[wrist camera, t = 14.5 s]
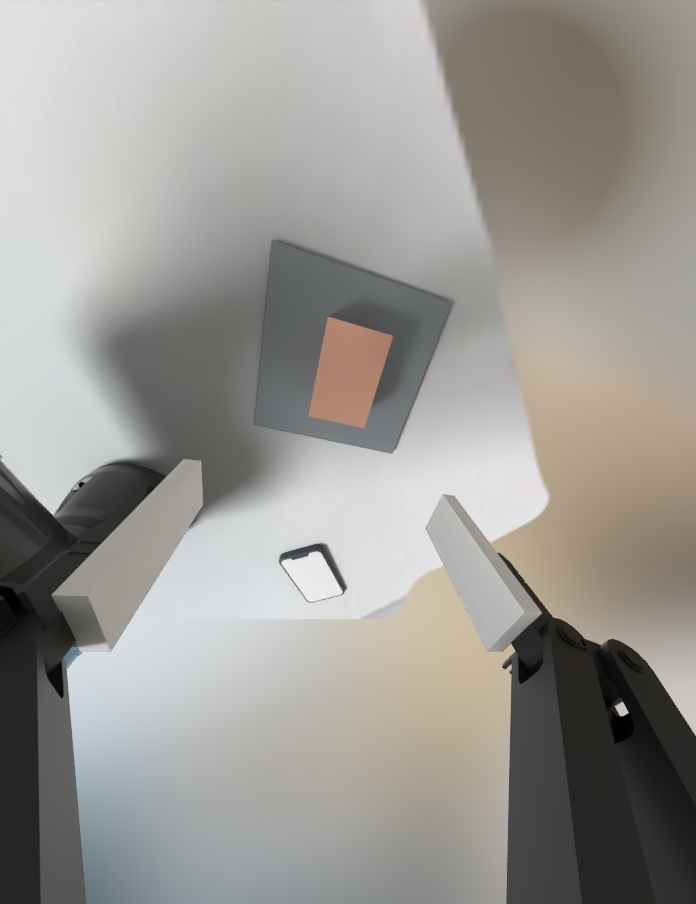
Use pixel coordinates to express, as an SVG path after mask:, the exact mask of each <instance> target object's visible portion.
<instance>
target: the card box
mask: <svg viewBox="0 0 696 904" xmlns="http://www.w3.org/2000/svg"><path fill="white" fill-rule="evenodd" d="M392 338H393V336H392V335H389V334H385V333H382V332H379V331H375V330H372V329H368V328H365V327H362V326H358V325H355V324H351V323H348V322H345V321H341V320H338V319H335V318H331V317H328V318H327V323H326V329H325V334H324V339H323V344H322V349H321V354H320V359H319V364H318V370H317V375H316V380H315V385H314V390H313V395H312V400H311V406H310V411H309V417H314V418H319V419H323V420H328V421H333V422H337V423H342V424H346V425H351V426H356V427H360V428H365V425H366V421H367V418H368V415H369V412H370V409H371V405H372V402H373V399H374V396H375V393H376V390H377V386H378V383H379V380H380V377H381V374H382V370H383V367H384V364H385V361H386V358H387V354H388V351H389V348H390V345H391V342H392Z"/></svg>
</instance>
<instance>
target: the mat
mask: <svg viewBox="0 0 696 904" xmlns="http://www.w3.org/2000/svg"><path fill="white" fill-rule="evenodd" d="M451 305H452V302H449V301H446V300H443V299H440V298H437V297H434V296H432V295H429V294H426V293H423V292H420V291H417V290H414V289H412V288H409V287H406V286H403V285H400V284H397V283H394V282H391V281H389V280H386V279H383V278H380V277H377V276H374V275H371V274H369V273H366V272H363V271H360V270H357V269H354V268H351V267H349V266H346V265H343V264H340V263H337V262H334V261H331V260H329V259H326V258H323V257H320V256H317V255H314V254H311V253H308V252H306V251H303V250H300V249H297V248H294V247H291V246H288V245H286V244H283V243H280V242H277V241H274V240H272V245H271V255H270V265H269V275H268V286H267V296H266V306H265V316H264V327H263V337H262V347H261V357H260V368H259V378H258V388H257V398H256V409H255V419H254V425H257V426H262V427H267V428H271V429H276V430H281V431H286V432H291V433H295V434H300V435H305V436H310V437H315V438H320V439H324V440H329V441H334V442H339V443H344V444H348V445H353V446H358V447H363V448H368V449H372V450H377V451H382V452H387V453H393V451H394V448H395V446H396V443H397V441H398V438H399V436H400V433H401V431H402V428H403V425H404V423H405V420H406V418H407V415H408V413H409V410H410V408H411V405H412V403H413V400H414V398H415V395H416V393H417V390H418V388H419V385H420V383H421V380H422V378H423V375H424V373H425V370H426V368H427V365H428V363H429V360H430V358H431V355H432V353H433V350H434V348H435V345H436V343H437V340H438V338H439V335H440V333H441V330H442V328H443V325H444V323H445V320H446V318H447V315H448V313H449V310H450V308H451ZM328 317H331V318H335V319H338V320H341V321H345V322H348V323H351V324H355V325H358V326H362V327H365V328H368V329H372V330H375V331H379V332H382V333H385V334H389V335H392V336H393V338H392V342H391V345H390V348H389V351H388V354H387V358H386V361H385V364H384V367H383V370H382V374H381V377H380V380H379V383H378V386H377V390H376V393H375V396H374V399H373V402H372V405H371V409H370V412H369V415H368V418H367V421H366V425H365V428H360V427H356V426H351V425H346V424H342V423H337V422H333V421H328V420H323V419H319V418H314V417H309V411H310V406H311V400H312V395H313V390H314V385H315V380H316V375H317V370H318V364H319V359H320V354H321V349H322V344H323V339H324V334H325V329H326V323H327V318H328Z"/></svg>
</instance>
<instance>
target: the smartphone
mask: <svg viewBox="0 0 696 904" xmlns="http://www.w3.org/2000/svg"><path fill="white" fill-rule="evenodd" d="M279 563H280V565H281V566H282V567H283V569H284V570H285V572H286V573H287V574H288V576H289V577H290V578H291V580H292V581H293V583H294V584H295V585H296V587H297V588H298V590H299V591H300V592H301V594H302V595H303V596H304V598H305V599H306V601H308V602H311V603H312V602H317V601H321V600H325V599H329V598H332V597H336V596H340V595H343V594H344V592H345V590H344V586H343V584H342V582H341V580H340V578H339V576H338V575H337V573H336V571H335V569H334V567H333V565H332V563H331V561H330V560H329V558H328V556H327V554H326V552H325V550H324V548H323V547H322V546H321V545H312V546H308V547H305V548H301V549H297V550H294V551H290V552H286V553H283V554H282V555H281V556H280V560H279Z"/></svg>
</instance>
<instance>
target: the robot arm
mask: <svg viewBox="0 0 696 904" xmlns="http://www.w3.org/2000/svg"><path fill="white" fill-rule="evenodd" d="M0 459H2V456H1V455H0ZM202 506H203V487H202V464H201V461H197V460H190V459H183V460H182V461H181V462H180V463H179V464H178V465H177V466H176V467H175V469H174V470H173V471H172V472H171V473H170V474H169V475H168V476H167V477H164V476H162V475H161V474H159V473H156V472H154V471H152V470H149V469H146V468H143V467H139V466H134V465H127V464H114V465H107V466H103V467H100V468H98V469H96V470H94V471H93V472H91V473H90V474H88V475H87V476H85V477H84V478H82V479H81V480H79V481H78V482H77V483H76V484H75V485H74V487H73V488H72V489H71V491H70V493H69V494H68V495H67V496H66V498H65V499H64V501H63V502H62V504H61V505H60V506H59V508H58V509H57V511H56V512H55V513H54V515H52V514H51V513H50V512H49V511H48V510H47V509H46V508H45V507H44V506H43V505H42V504H41V503H40V502H39V501H38V500H37V499H36V498H35V497H34V496H33V495H32V493H31V492H30V491H29V490H28V489H27V488H26V487H25V486H24V485H23V484H22V483H21V482H20V481H19V480H18V478H17V477H16V476H15V475H14V474H13V473H12V472H11V471H10V470H9V469H8V468H7V467H6V466H5V465H4V463H3V462H2V461H1V460H0V904H86V897H85V885H84V874H83V863H82V862H83V861H82V849H81V837H80V826H79V814H78V801H77V789H76V777H75V766H74V754H73V741H72V729H71V717H70V706H69V693H68V681H67V668H68V667H69V666H70V664H71V663H72V662H73V661H74V660H75V659H76V657H77V656H79V655H80V654H81V653H82V652H111V650H112V649H113V647H114V646H115V644H116V643H117V641H118V639H119V638H120V636H121V635H122V633H123V631H124V630H125V628H126V627H127V625H128V624H129V622H130V620H131V619H132V617H133V616H134V614H135V612H136V611H137V609H138V608H139V606H140V604H141V603H142V601H143V600H144V598H145V597H146V595H147V593H148V592H149V590H150V589H151V587H152V585H153V584H154V582H155V581H156V579H157V577H158V576H159V574H160V573H161V571H162V570H163V568H164V566H165V565H166V563H167V562H168V560H169V558H170V557H171V555H172V554H173V552H174V550H175V549H176V547H177V546H178V544H179V543H180V541H181V539H182V538H183V536H184V535H185V533H186V531H187V530H188V528H189V527H190V525H191V523H192V522H193V520H194V519H195V517H196V516H197V514H198V512H199V511H200V509H201V508H202ZM425 529H426V531H427V533H428V535H429V537H430V539H431V541H432V543H433V545H434V547H435V549H436V551H437V553H438V555H439V557H440V559H441V561H442V563H443V565H444V567H445V568H446V571H447V573H448V574H449V577H450V578H451V581H452V582H453V585H454V587H455V589H456V591H457V593H458V595H459V597H460V598H461V600H462V603H463V605H464V607H465V609H466V611H467V613H468V614H469V616H470V619H471V620H472V623H473V625H474V627H475V629H476V631H477V632H478V635H479V637H480V638H481V641H482V643H483V644H484V646H485V648H486V650H487V651H504V650H505V649H506V648H507V647H508V646H509V645H510V644H512V645H513V647H514V649H515V651H516V652H515V653H514V654H513V655H511V656H510V657H509V658H508V659H507V660H506V661H505V662H504V664H503V667H502V668H504V669H506V668H507V667H508V666H509V665H511V664H512V670H511V671H510V674H512V681H511V683H512V684H511V725H510V770H509V813H508V816H509V817H508V818H509V819H508V858H507V860H508V861H507V902H506V904H696V736H695V734H694V733H693V731H692V730H691V728H690V727H689V725H688V724H687V722H686V721H685V719H684V717H683V716H682V714H681V713H680V711H679V710H678V708H677V707H676V705H675V704H674V702H673V701H672V699H671V697H670V696H669V694H668V693H667V691H666V690H665V688H664V687H663V685H662V684H661V682H660V681H659V679H658V678H657V676H656V675H655V673H654V671H653V670H652V669H651V667H650V666H649V665H648V663H647V662H646V661H645V660H644V659H643V658H642V657H641V656H640V655H639V654H638V653H637V652H636V651H634V650H633V649H632V648H630V647H629V646H627V645H625V644H624V643H622V642H620V641H618V640H614V639H610V640H608V641H606V642H605V643H604V644H602V645H599V644H597V643H594V642H591V641H589V640H586V639H584V638H583V636H582V635H581V634H580V633H579V632H578V631H577V630H576V629H575V628H573V627H572V626H571V625H569V624H568V623H567V622H565V621H563V620H561V619H557V618H553V617H552V615H551V614H550V613H549V612H548V610H547V609H546V608H545V607H544V605H543V604H542V603H541V602H540V600H539V599H538V597H537V596H536V595H535V594H534V592H533V591H532V590H531V588H530V587H529V586H528V585H527V584H526V583H525V581H524V579H523V578H522V577H521V576H520V575H519V574H518V572H517V571H516V569H515V568H514V567H513V565H512V564H511V563H510V562H509V561H508V560H507V559H506V558H505V557H504V556H503V555H501V554H500V553H497V552H496V551H495V549H494V548H493V547H492V546H491V544H490V543H489V541H488V540H487V539H486V538H485V536H484V535H483V534H482V532H481V531H480V530H479V528H478V527H477V526H476V524H475V523H474V522H473V520H472V519H471V518H470V516H469V515H468V514H467V512H466V511H465V510H464V508H463V507H462V506H461V504H460V503H459V502H458V500H457V499H456V498H455V496H451V495H444V494H443V495H442V497H441V499H440V501H439V503H438V505H437V507H436V508H435V510H434V512H433V514H432V516H431V518H430V520H429V522H428V524H427V526H426V528H425ZM621 702H624V704H625V706H626V708H627V710H628V712H629V713H628V714H626V715H625V716H620V715H619V714H618V712H617V710H616V708H615V706H616V705H618V704H619V703H621Z"/></svg>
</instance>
